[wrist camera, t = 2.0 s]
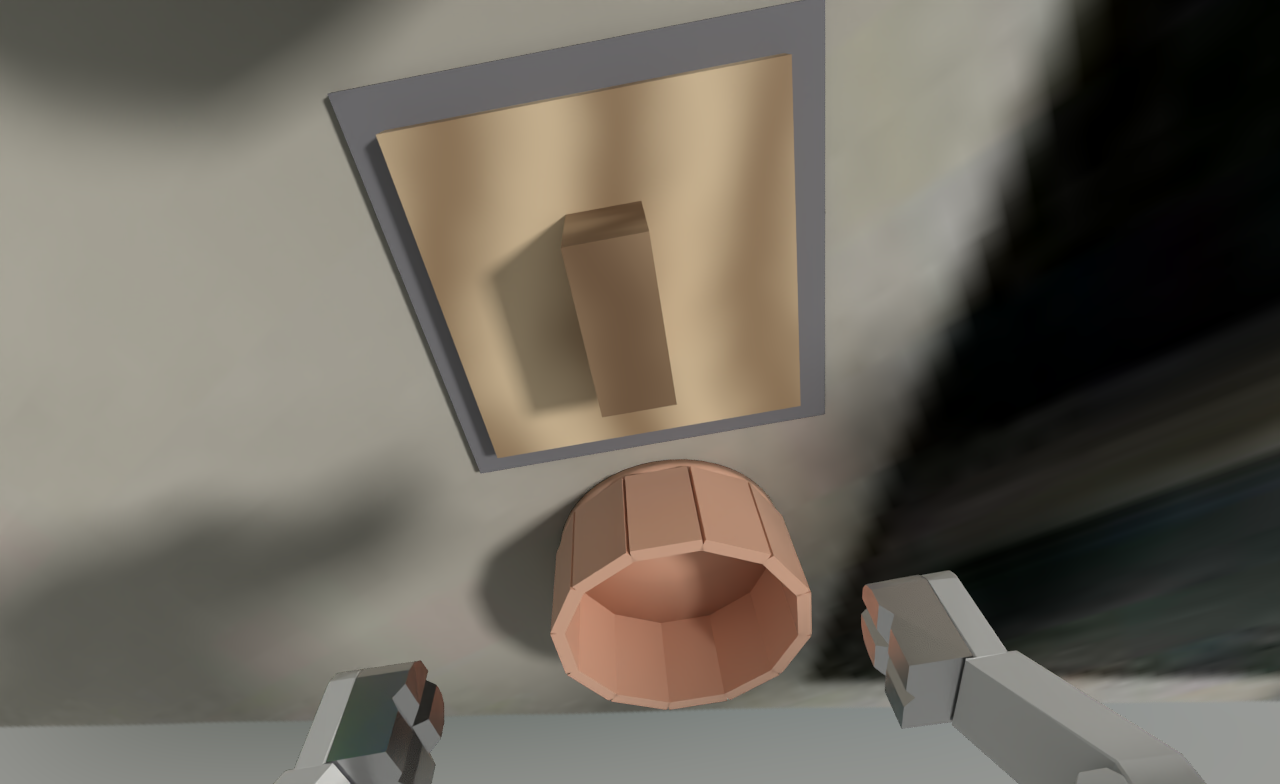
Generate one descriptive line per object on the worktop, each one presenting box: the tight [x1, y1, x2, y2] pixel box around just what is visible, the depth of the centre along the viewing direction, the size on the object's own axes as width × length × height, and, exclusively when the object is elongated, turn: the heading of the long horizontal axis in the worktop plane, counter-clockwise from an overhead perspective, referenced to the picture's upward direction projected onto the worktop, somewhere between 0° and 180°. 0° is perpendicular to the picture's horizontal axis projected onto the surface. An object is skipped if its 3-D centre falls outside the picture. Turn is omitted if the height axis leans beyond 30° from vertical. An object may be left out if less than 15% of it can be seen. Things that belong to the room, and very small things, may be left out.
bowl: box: [551, 460, 812, 710], centre depth 33 cm, size 13×13×6 cm
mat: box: [328, 0, 825, 473], centre depth 26 cm, size 18×18×1 cm
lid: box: [376, 53, 801, 458], centre depth 24 cm, size 15×15×5 cm
